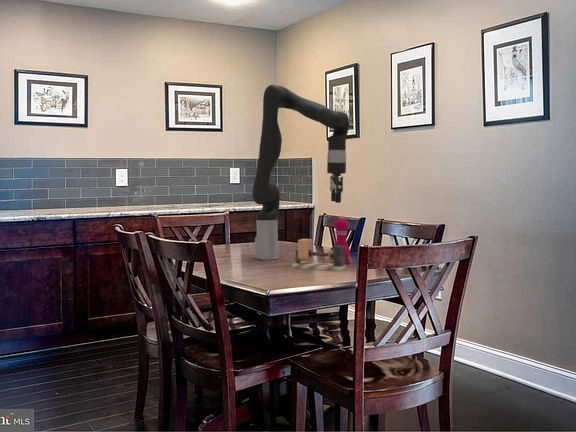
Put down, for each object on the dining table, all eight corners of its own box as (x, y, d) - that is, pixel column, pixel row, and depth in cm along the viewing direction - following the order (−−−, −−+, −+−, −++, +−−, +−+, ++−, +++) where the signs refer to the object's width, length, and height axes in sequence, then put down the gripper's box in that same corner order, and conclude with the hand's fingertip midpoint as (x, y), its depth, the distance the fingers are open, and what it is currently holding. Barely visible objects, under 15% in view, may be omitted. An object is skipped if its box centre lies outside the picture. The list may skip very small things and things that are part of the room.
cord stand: (292, 267, 224) (292, 245, 223) (300, 265, 230) (300, 243, 230) (339, 271, 215) (339, 247, 214) (346, 268, 221) (346, 245, 220)
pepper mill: (349, 264, 230) (349, 215, 229) (331, 264, 232) (331, 215, 230) (351, 262, 237) (350, 214, 236) (333, 261, 239) (333, 214, 237)
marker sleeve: (298, 259, 224) (297, 240, 223) (303, 258, 228) (303, 238, 228) (307, 260, 222) (307, 240, 222) (312, 258, 226) (312, 239, 226)
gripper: (324, 161, 234) (323, 201, 235) (330, 161, 220) (330, 203, 221) (342, 162, 235) (341, 201, 236) (349, 161, 221) (348, 203, 222)
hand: (335, 202), depth 229 cm, fingers open, 8 cm apart
